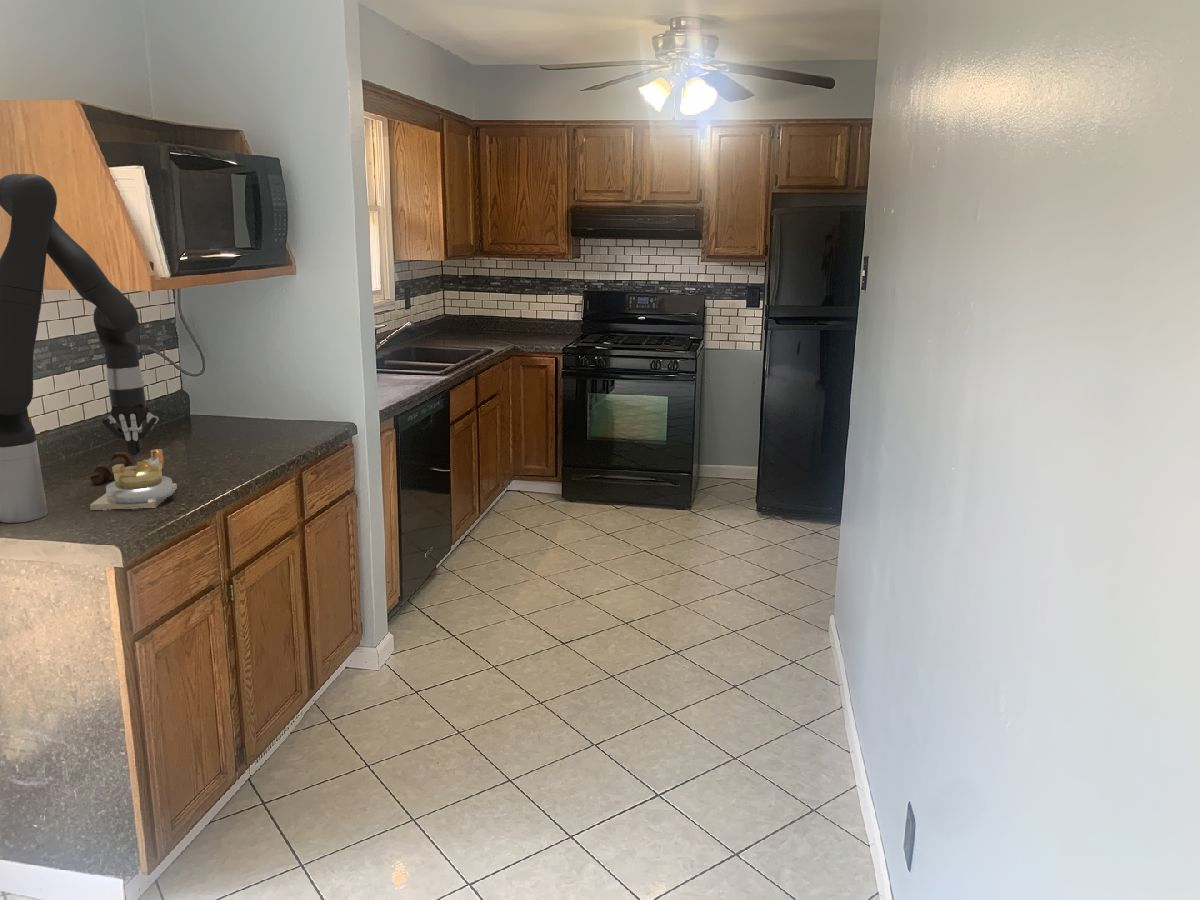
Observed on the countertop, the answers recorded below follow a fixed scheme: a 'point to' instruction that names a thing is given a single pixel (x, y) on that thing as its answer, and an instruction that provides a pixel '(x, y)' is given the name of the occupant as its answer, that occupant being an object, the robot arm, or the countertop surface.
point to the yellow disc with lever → (140, 472)
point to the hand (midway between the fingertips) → (136, 454)
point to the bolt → (110, 467)
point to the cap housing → (134, 496)
